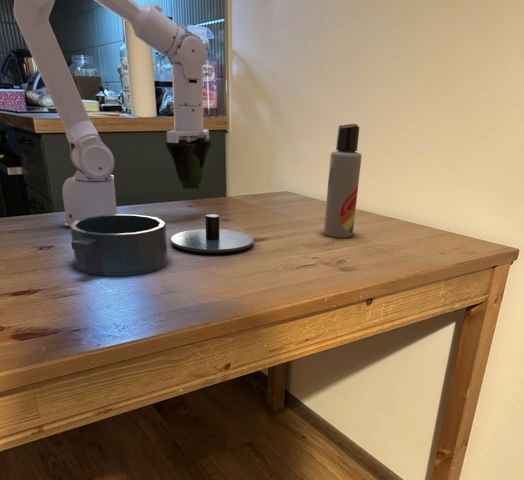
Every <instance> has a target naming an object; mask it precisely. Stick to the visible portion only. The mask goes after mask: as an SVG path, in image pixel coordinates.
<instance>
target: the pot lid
mask: <svg viewBox="0 0 524 480" xmlns="http://www.w3.org/2000/svg"><path fill="white" fill-rule="evenodd" d="M170 242H171V244H172V245H173V246H174V247H176V248H177V249H182V250H185V251H191V252H196V253H197V252H198V253H205V254H206V253H207V254H221V253H230V252H238V251H242V250H245V249H248V248H250V247H252V246H253V245H254V242H255V238H254V237H253V236H252V235H250V234H248V233H246V232H242V231H238V230H232V229H224V228H223V229H221V228H220V215H219V214H215V213H214V214H206V215H205V228H201V229H190V230H184V231H181V232H178V233H175V234H174V235H172V236H171V237H170Z"/></svg>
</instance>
